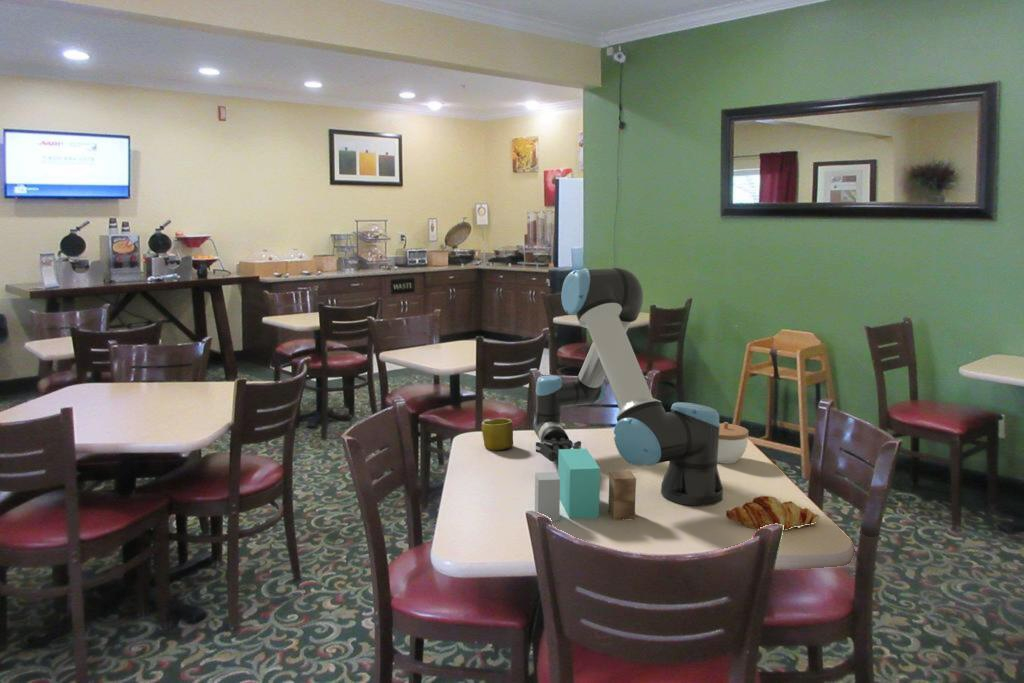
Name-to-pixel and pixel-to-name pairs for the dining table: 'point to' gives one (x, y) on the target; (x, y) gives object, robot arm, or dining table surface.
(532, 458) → the dining table surface
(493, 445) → the mug
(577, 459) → the teal block
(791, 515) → the croissant
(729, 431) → the lidded bowl
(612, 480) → the walnut block
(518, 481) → the dining table surface
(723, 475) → the dining table surface
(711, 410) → the robot arm
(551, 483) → the grey block
